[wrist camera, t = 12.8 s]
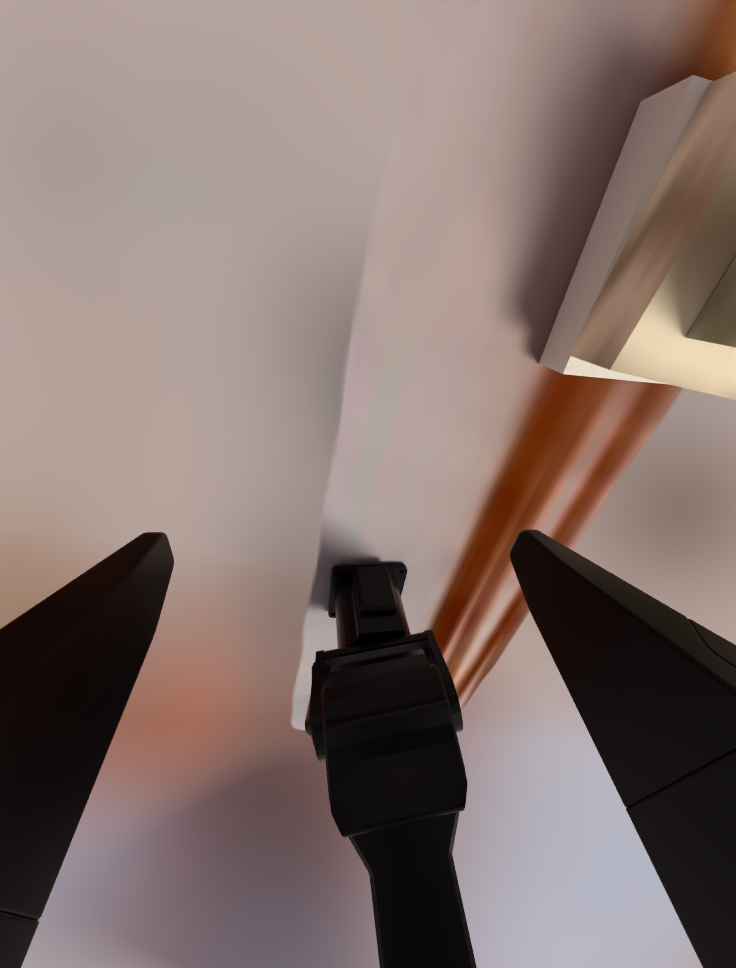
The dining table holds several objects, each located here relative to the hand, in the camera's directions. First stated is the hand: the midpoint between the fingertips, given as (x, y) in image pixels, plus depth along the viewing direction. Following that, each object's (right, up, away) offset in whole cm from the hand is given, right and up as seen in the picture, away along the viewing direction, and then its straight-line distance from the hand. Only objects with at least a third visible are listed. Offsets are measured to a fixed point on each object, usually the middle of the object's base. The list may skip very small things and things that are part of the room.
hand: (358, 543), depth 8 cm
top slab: (+17, +12, +8) cm, 22 cm away
